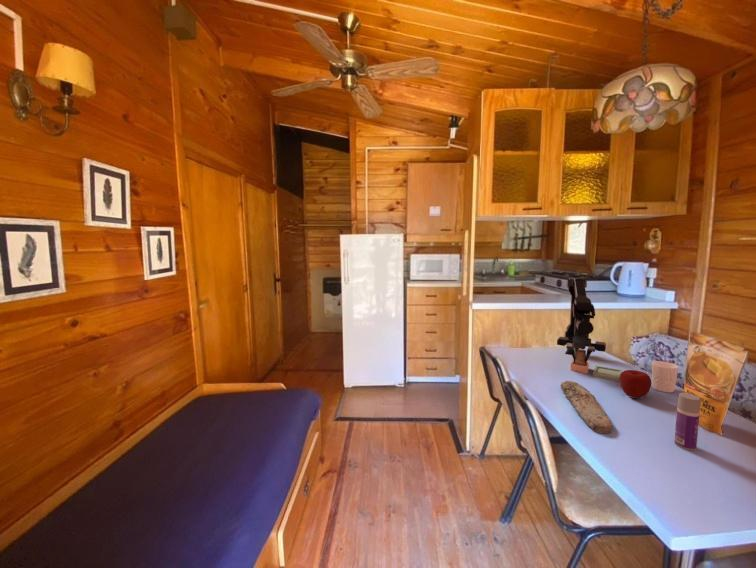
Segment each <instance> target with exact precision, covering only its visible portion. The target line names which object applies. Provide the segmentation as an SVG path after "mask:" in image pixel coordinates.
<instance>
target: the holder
mask: <svg viewBox="0 0 756 568" xmlns="http://www.w3.org/2000/svg"><path fill="white" fill-rule="evenodd" d="M590 365H591V363H590V362H589V361H587V362H586V363H585V366H583V365H577V364H575V361H574V359H572V360H571V362H570V368H569V369H570V371H573V372H577V373H583V374H584V373H585V374H588V373H589V371H590Z"/></svg>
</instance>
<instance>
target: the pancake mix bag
mask: <svg viewBox="0 0 756 568" xmlns="http://www.w3.org/2000/svg"><path fill="white" fill-rule="evenodd" d="M687 334H688V335H687V336H688V337H687V350H686V357H685V366H684V382H683V383H684V386H683V393H689V394H693V395H696V396H698V397H700V413H699V425H698V427H699V426H700V428H702V429H704V430H705V431H707V432H710V433H714V434H717V435H720V436H723V434H724V431H723V428H722V427H723V423H724V420H725V417H726V415H727V412H728V409H729V407H730V404H731V400H732V399H733V396H734V393H735V390H736V387H737V386H738V384H739V380H740V378H741V375H742V372H743V370H744V368H745V365H746V364H747V362H748V359H749V351H748V350H747V349H746V348H745V347H743V346H742V345H739V344H737V343H734V342H729V341H725V340H722V339H719V338H717V337H714V336H711V335H707V334H704V333H702V332H697V331H689V332H687Z"/></svg>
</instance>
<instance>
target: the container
mask: <svg viewBox="0 0 756 568" xmlns="http://www.w3.org/2000/svg"><path fill="white" fill-rule="evenodd" d="M699 413H700V397H698V396H696V395H693V394H689V393H684V392H679V393H678V401H677V408H676V418H675V419H676V420H675V428H674V429H675V432H674V441H673V442H674V444H675V446H676V447H678V448H681V449H683V450H686V451H697V445H698V436H699V435H698V433H699Z"/></svg>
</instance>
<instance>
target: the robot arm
mask: <svg viewBox="0 0 756 568" xmlns="http://www.w3.org/2000/svg"><path fill="white" fill-rule="evenodd" d="M587 285H588V280H587V279H585V278H583V277H575V278H569V279H567V280H566V288H567V291H568V293H569V294H570V313H569V314H570V316H569V317H570V318H569V324H568V325H567V326H566V330H565V332H564V335H563V336H560V337H558V339H557V340H556V345H557V346H563V347H565V348H566V351H565V353H564V354H565V355H570V356H572V360H574V361H575V354H576V349H583V350H586V359H585V363H586V362H588V359H589V357H590V356H591V354H592V353H595V352H602V353H603V352H606V350H607V343H606V342H604V341H595V343H593V342H592V338H590V334H592V333H593V331H594V329H595V327H594V325H593V323H592V322H591V319H595V317H596V310H595V306H594V304H593V303H592V301H591V299H590V298H589V297H588V296H587V291H586V288H587ZM586 348H587V349H586Z"/></svg>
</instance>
